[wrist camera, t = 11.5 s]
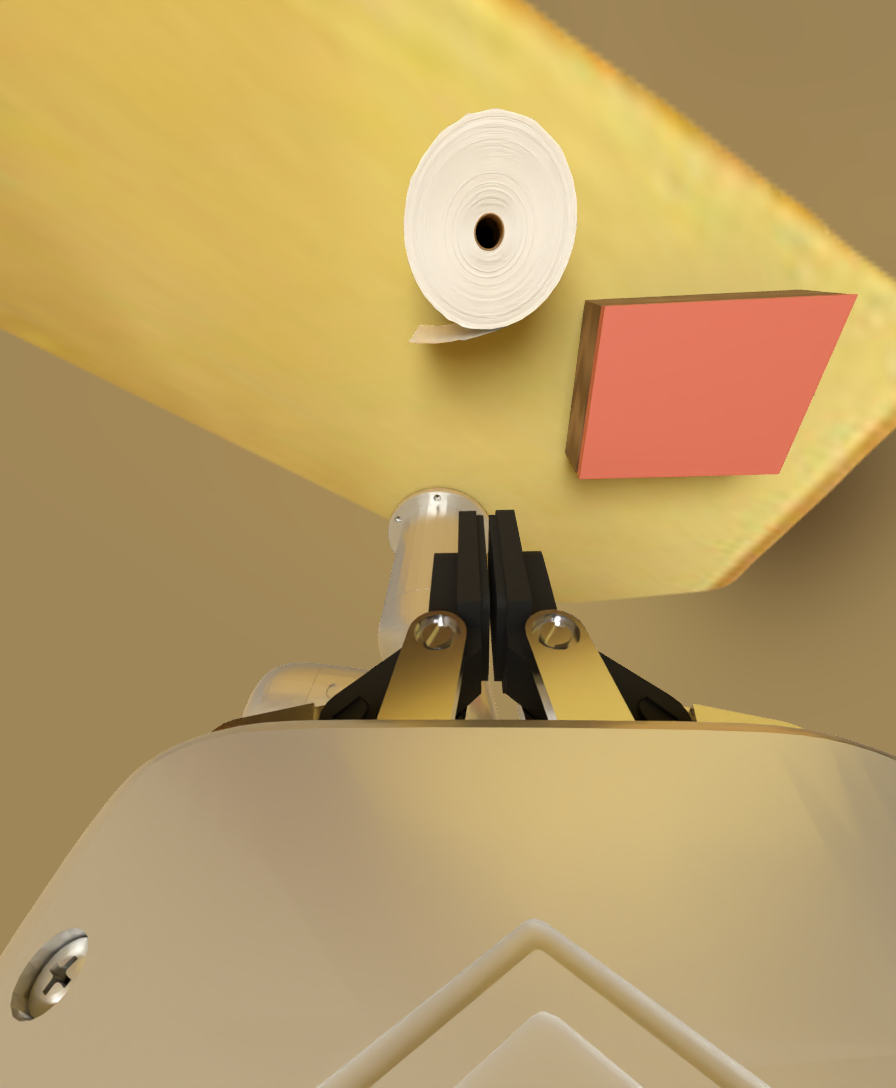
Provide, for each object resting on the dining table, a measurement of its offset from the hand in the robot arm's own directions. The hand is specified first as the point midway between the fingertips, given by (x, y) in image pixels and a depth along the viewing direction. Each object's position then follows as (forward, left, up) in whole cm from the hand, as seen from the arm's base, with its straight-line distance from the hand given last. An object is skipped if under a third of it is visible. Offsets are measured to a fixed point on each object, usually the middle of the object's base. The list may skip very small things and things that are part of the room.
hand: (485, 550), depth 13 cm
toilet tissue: (+8, -1, -31) cm, 32 cm away
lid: (-3, -19, -26) cm, 32 cm away
